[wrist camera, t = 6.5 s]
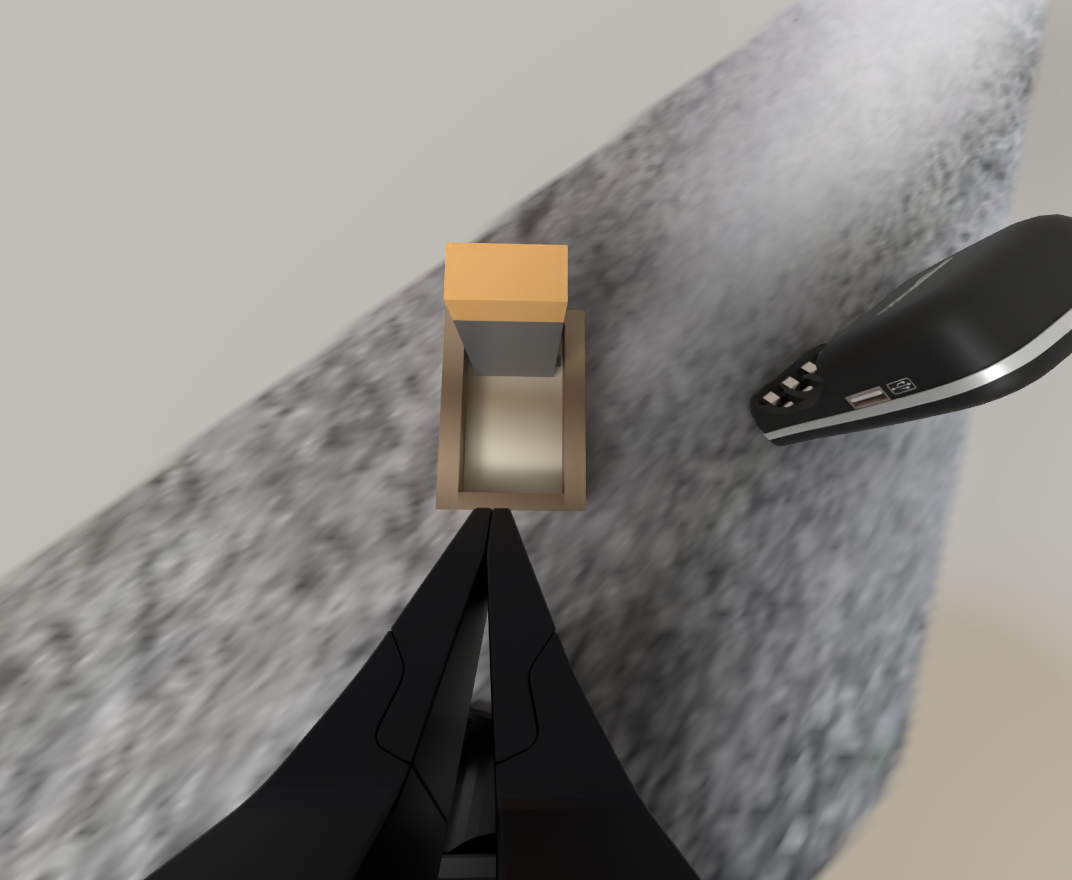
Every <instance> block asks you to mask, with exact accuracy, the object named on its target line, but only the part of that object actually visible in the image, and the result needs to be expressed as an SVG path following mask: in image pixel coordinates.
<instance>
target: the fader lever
mask: <svg viewBox="0 0 1072 880" xmlns="http://www.w3.org/2000/svg"><path fill="white" fill-rule="evenodd" d="M444 302H445V304H446V306H447V308H448V311H449V313H450V315H451V318H452V320H453V322H454V324H455V327H456V329H457V331H458V334H459V336H460V338H461V341H462V343H463V345H464V347H465V350H466V352H467V354H468V357H469V359H470V361H471V364H472V366H473V368H474V370H475V373H476V375H477V376H516V377H553V376H554V370H555V365H556V360H557V355H558V349H559V344H560V339H561V334H562V329H563V323H564V318H565V313H566V308H567V302H568V245H539V244H491V243H446V261H445V281H444Z"/></svg>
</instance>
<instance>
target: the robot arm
mask: <svg viewBox="0 0 1072 880" xmlns="http://www.w3.org/2000/svg"><path fill="white" fill-rule="evenodd" d="M487 612H488V622H489V650H490V677H491V704H492V714H490V713H487V712H483V711H480V710H477V709H473V708H470V703H471V698H472V692H473V687H474V682H475V676H476V671H477V666H478V660H479V655H480V649H481V644H482V639H483V633H484V628H485V623H486V617H487ZM468 718H471V719H473V721H474V723H473V724H467V719H468ZM144 880H702V879H701V878H700V877H699V875H698V874H697V873H696V871H695V870H694V869H693V867H692V866H691V865H690V863H689V862H688V861H687V859H686V858H685V857H684V855H683V854H682V853H681V852H680V850H679V849H678V848H677V846H676V845H675V844H674V842H673V841H672V840H671V838H670V837H669V836H668V834H667V833H666V832H665V830H664V829H663V828H662V826H661V825H660V824H659V823H658V821H657V820H656V819H655V817H654V816H653V815H652V813H651V812H650V811H649V809H648V808H647V806H646V805H645V803H644V802H643V800H642V798H641V797H640V795H639V794H638V792H637V791H636V789H635V787H634V785H633V784H632V782H631V780H630V779H629V777H628V775H627V773H626V772H625V770H624V768H623V766H622V765H621V763H620V761H619V759H618V757H617V755H616V753H615V751H614V749H613V748H612V746H611V744H610V742H609V740H608V738H607V736H606V734H605V732H604V731H603V729H602V727H601V725H600V723H599V721H598V719H597V717H596V716H595V714H594V712H593V710H592V708H591V706H590V704H589V702H588V700H587V698H586V696H585V694H584V692H583V690H582V688H581V686H580V684H579V682H578V680H577V678H576V676H575V674H574V672H573V669H572V667H571V665H570V662H569V660H568V657H567V655H566V653H565V650H564V648H563V645H562V643H561V640H560V637H559V635H558V633H557V632H556V628H555V625H554V622H553V620H552V617H551V614H550V612H549V609H548V607H547V604H546V601H545V599H544V596H543V594H542V591H541V588H540V586H539V583H538V581H537V578H536V575H535V573H534V570H533V568H532V565H531V562H530V560H529V557H528V555H527V552H526V549H525V547H524V544H523V541H522V539H521V536H520V534H519V531H518V528H517V526H516V523H515V521H514V518H513V515H512V513H511V510H510V509H509V508H494V509H493V510H492V509H491V508H481V507H478V508H475V509H474V510H473V511H472V513H471V514H470V515H469V517H468V518H467V520H466V521H465V523H464V524H463V525H462V527H461V528H460V530H459V531H458V533H457V534H456V535H455V537H454V538H453V540H452V541H451V543H450V544H449V545H448V547H447V548H446V550H445V551H444V553H443V554H442V555H441V557H440V558H439V560H438V561H437V563H436V564H435V565H434V567H433V568H432V570H431V571H430V573H429V574H428V575H427V577H426V578H425V580H424V581H423V583H422V584H421V586H420V587H419V588H418V590H417V591H416V593H415V594H414V596H413V597H412V598H411V600H410V601H409V603H408V604H407V606H406V607H405V608H404V610H403V611H402V613H401V614H400V616H399V617H398V618H397V620H396V621H395V623H394V624H393V626H392V627H391V631H388V632H387V634H386V635H385V637H384V638H383V640H382V641H381V642H380V644H379V645H378V647H377V648H376V650H375V651H374V652H373V654H372V655H371V656H370V658H369V659H368V660H367V662H366V663H365V664H364V666H363V667H362V668H361V670H360V671H359V672H358V674H357V675H356V676H355V677H354V679H353V680H352V681H351V682H350V683H349V685H348V686H347V687H346V688H345V690H344V691H343V692H342V693H341V695H340V696H339V697H338V698H337V699H336V701H335V702H334V703H333V704H332V705H331V706H330V708H329V709H328V710H327V711H326V712H325V713H324V715H323V716H322V717H321V718H320V719H319V721H318V722H317V723H316V724H315V725H314V726H313V728H312V729H311V730H310V731H309V732H308V733H307V735H306V736H305V737H304V738H303V739H302V740H301V742H300V743H299V744H298V745H297V746H296V748H295V749H294V750H293V751H292V752H291V753H290V755H289V756H288V757H287V758H286V759H285V760H284V762H283V763H282V764H281V765H280V766H279V767H278V769H277V770H276V771H275V772H274V773H273V774H272V775H271V776H270V777H269V779H268V780H267V781H266V782H265V783H264V784H263V785H262V786H261V787H260V788H259V789H258V790H257V791H256V792H255V793H253V794H252V795H251V796H250V797H249V798H248V799H247V800H246V801H245V802H244V803H242V804H241V805H240V806H239V807H238V808H237V809H235V810H234V811H233V812H232V813H230V814H229V815H228V816H226V817H225V818H224V819H222V820H221V821H220V822H218V823H217V824H216V825H215V826H213V827H212V828H211V829H209V830H208V831H207V832H205V833H204V834H203V835H201V836H200V837H199V838H197V839H196V840H195V841H194V842H192V843H191V844H190V845H188V846H187V847H186V848H184V849H183V850H182V851H180V852H179V853H178V854H176V855H175V856H174V857H172V858H171V859H170V860H169V861H167V862H166V863H165V864H163V865H162V866H161V867H159V868H158V869H157V870H155V871H154V872H153V873H151V874H150V875H149V876H147V877H146V878H145V879H144Z"/></svg>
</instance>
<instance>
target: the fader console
mask: <svg viewBox="0 0 1072 880" xmlns="http://www.w3.org/2000/svg"><path fill="white" fill-rule="evenodd" d="M478 507H481V508H491V509H492V510H493V509H494V508H509V509H510V510H542V511H586V421H585V310H580V309H566V313H565V318H564V323H563V329H562V334H561V339H560V344H559V349H558V355H557V360H556V365H555V370H554V376H553V377H516V376H477V375H476V373H475V370H474V368H473V366H472V364H471V361H470V359H469V357H468V354H467V352H466V350H465V347H464V345H463V343H462V341H461V338H460V336H459V334H458V331H457V329H456V327H455V324H454V322H453V320H452V318H451V315H450V313H449V311H448V308H447V307H446V309H445V329H444V349H443V370H442V390H441V411H440V431H439V451H438V472H437V492H436V509H460V510H474V509H475V508H478Z"/></svg>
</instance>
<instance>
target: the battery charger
mask: <svg viewBox="0 0 1072 880" xmlns="http://www.w3.org/2000/svg"><path fill="white" fill-rule="evenodd" d="M1071 353H1072V217H1068V216H1064V215H1058V214H1056V215H1044V216H1037V217H1033V218H1030V219H1027V220H1024V221H1021V222H1017V223H1015V224H1013V225H1010V226H1008V227H1006V228H1004V229H1002V230H1000V231H998V232H996V233H994V234H992V235H990V236H988V237H986V238H984V239H982V240H980V241H978V242H977V243H975V244H973V245H971V246H969V247H967V248H965V249H963V250H961V251H959V252H957V253H956V254H954V255H952V256H950V257H948V258H946V259H944V260H942V261H941V262H939V263H937V264H935V265H933V266H931V267H930V268H928V269H926V270H924V271H923V272H921V273H919V274H917V275H915V276H914V277H912V278H910V279H909V280H907V281H906V282H904V283H903V284H902V285H900V286H899V287H898V288H897V289H895V290H894V291H893V292H891V293H890V294H889V295H888V296H886V297H885V298H884V299H883V300H882V301H881V302H880V303H879V304H877V305H876V306H875V307H874V308H872V309H871V310H870V311H868V312H867V313H866V314H864V315H863V316H862V317H860V318H859V319H857V320H856V321H855V322H853V323H852V324H851V325H850V326H848V327H847V328H846V329H844V330H843V331H842V332H841V333H839V334H838V335H837V336H836V337H835V338H833V339H832V340H831V341H830V342H829V343H828V344H821V345H819V346H817V347H815V348H813V349H812V350H810V351H809V352H808V353H806V354H805V355H804V356H802V357H801V358H800V359H798V360H797V361H796V362H795V363H793V364H792V365H791V366H789V367H788V368H787V369H786V370H784V371H783V372H782V373H781V374H779V375H778V376H777V377H775V378H774V379H773V380H772V381H770V382H769V383H768V384H767V385H765V386H764V387H763V388H762V389H760V390H759V391H758V392H757V393H756V394H755V395H754V396H753V397H752V399H751V401H750V410H751V413H752V416H753V418H754V419H755V421H756V423H757V425H758V426H759V427H760V428H761V429H762V431H763V432H764V436H765V437H766V438H767V439H768V440H771V441H772V442H773V443H774V444H775V445H776V446H784V445H789V444H793V443H798V442H803V441H807V440H812V439H817V438H822V437H828V436H834V435H840V434H846V433H851V432H857V431H862V430H868V429H873V428H878V427H884V426H889V425H894V424H899V423H904V422H908V421H913V420H918V419H923V418H927V417H932V416H936V415H941V414H946V413H950V412H955V411H959V410H963V409H967V408H971V407H975V406H979V405H982V404H985V403H988V402H991V401H994V400H996V399H999V398H1002V397H1004V396H1007V395H1008V394H1011V393H1013V392H1016V391H1018V390H1020V389H1022V388H1024V387H1026V386H1027V385H1029V384H1031V383H1033V382H1034V381H1036V380H1038V379H1039V378H1041V377H1042V376H1044V375H1045V374H1046V373H1048V372H1049V371H1050V370H1052V369H1053V368H1054V367H1055V366H1057V365H1058V364H1059V363H1060V362H1061V361H1063V360H1064V359H1065V358H1066V357H1067V356H1069V355H1070V354H1071Z"/></svg>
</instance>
